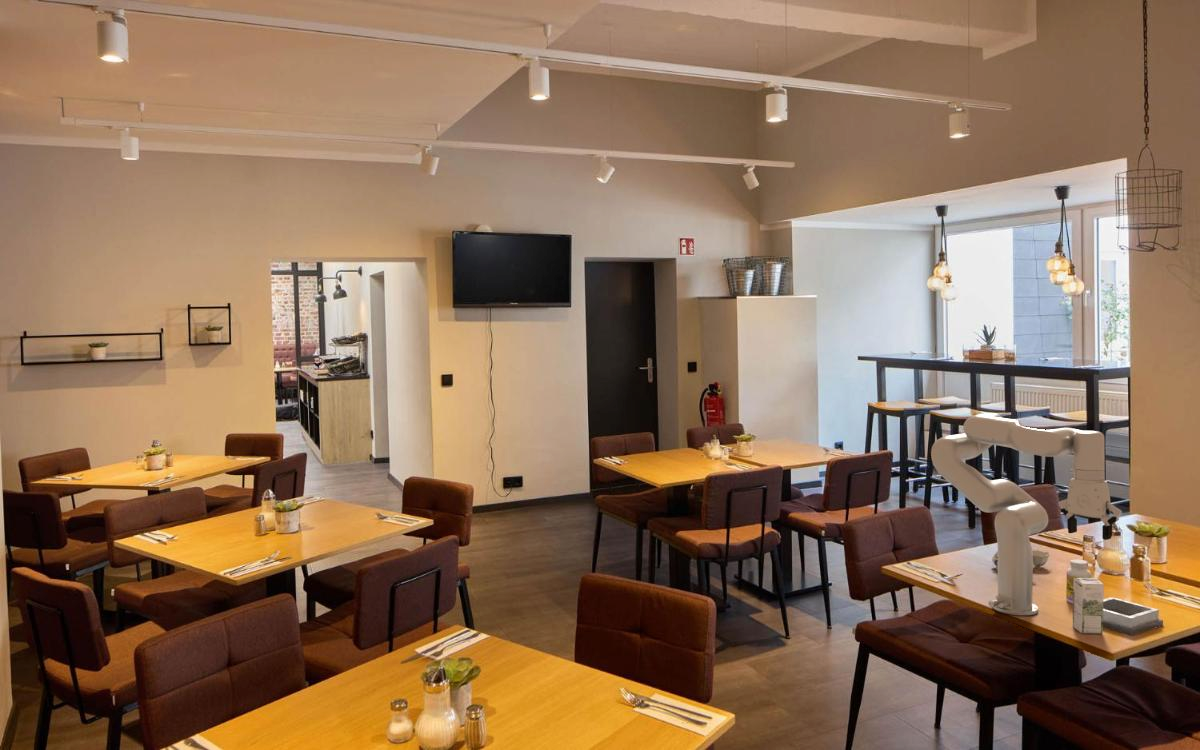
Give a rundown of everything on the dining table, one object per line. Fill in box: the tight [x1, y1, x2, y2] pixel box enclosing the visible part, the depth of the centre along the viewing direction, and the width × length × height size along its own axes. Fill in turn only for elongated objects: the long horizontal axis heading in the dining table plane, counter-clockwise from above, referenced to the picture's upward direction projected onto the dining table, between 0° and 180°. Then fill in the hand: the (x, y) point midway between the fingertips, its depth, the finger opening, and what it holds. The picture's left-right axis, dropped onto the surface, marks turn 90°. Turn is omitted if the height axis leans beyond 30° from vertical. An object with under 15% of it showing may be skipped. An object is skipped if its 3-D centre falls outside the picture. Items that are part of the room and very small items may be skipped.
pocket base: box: [1103, 596, 1164, 636], centre depth 246 cm, size 15×15×4 cm
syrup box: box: [1072, 577, 1105, 635], centre depth 239 cm, size 6×6×14 cm
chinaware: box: [991, 549, 1051, 571], centre depth 297 cm, size 28×17×17 cm, turn 143°
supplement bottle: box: [1065, 558, 1092, 605], centre depth 264 cm, size 7×7×13 cm
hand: (1089, 535), depth 239 cm, fingers open, 9 cm apart
